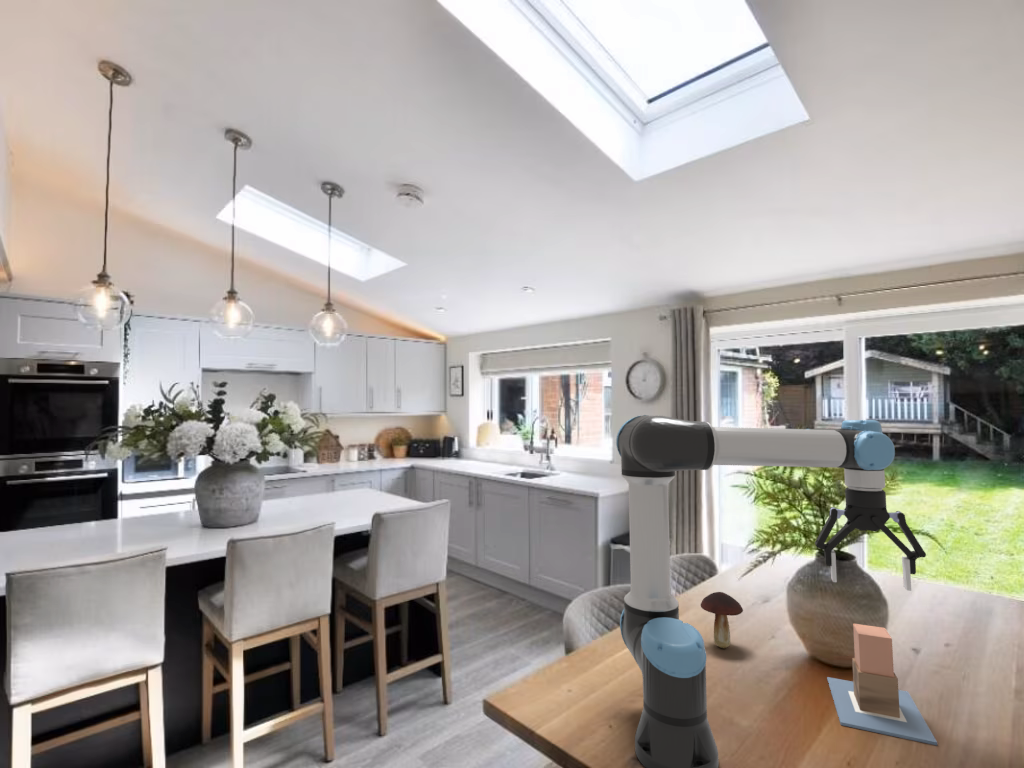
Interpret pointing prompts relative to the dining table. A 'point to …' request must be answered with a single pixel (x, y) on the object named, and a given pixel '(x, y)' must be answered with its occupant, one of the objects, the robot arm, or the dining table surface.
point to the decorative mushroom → (721, 615)
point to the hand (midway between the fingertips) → (869, 584)
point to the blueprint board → (880, 715)
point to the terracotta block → (873, 650)
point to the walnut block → (876, 692)
